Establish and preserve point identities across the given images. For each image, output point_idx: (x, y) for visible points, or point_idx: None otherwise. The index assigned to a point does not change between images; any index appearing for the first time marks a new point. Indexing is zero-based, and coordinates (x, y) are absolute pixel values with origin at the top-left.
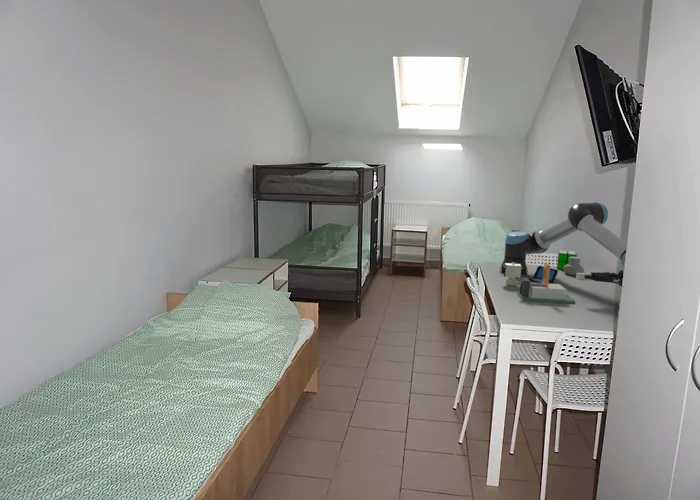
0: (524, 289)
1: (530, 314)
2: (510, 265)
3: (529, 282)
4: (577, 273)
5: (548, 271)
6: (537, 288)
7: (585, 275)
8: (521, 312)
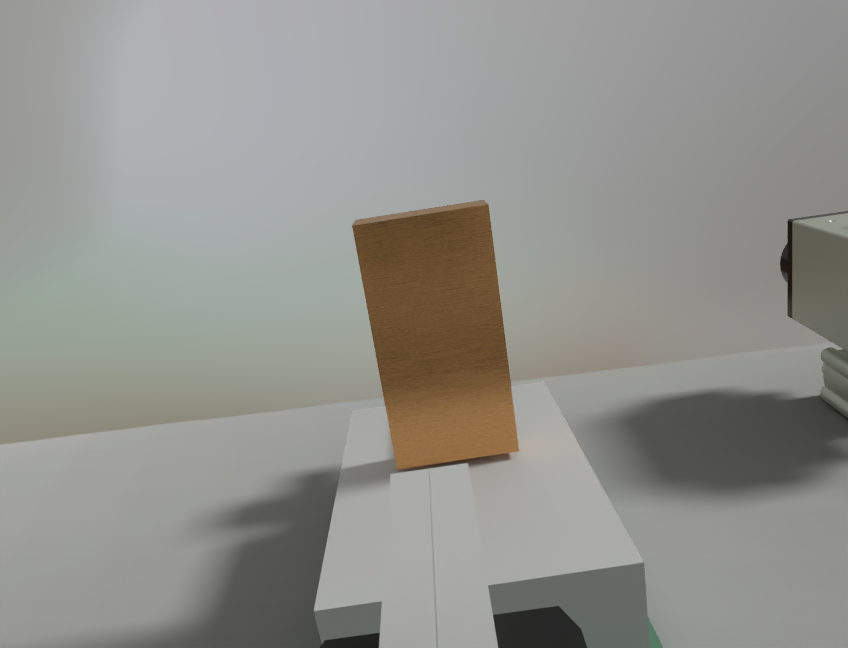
0: None
1: (22, 517)
2: (810, 228)
3: None
4: (391, 476)
5: (367, 293)
6: (350, 432)
7: (347, 643)
8: (80, 485)
